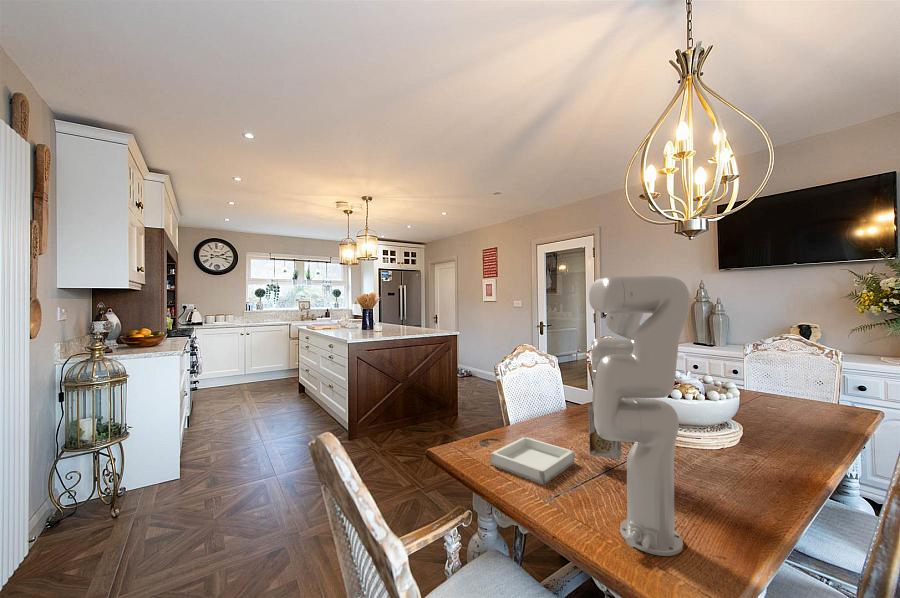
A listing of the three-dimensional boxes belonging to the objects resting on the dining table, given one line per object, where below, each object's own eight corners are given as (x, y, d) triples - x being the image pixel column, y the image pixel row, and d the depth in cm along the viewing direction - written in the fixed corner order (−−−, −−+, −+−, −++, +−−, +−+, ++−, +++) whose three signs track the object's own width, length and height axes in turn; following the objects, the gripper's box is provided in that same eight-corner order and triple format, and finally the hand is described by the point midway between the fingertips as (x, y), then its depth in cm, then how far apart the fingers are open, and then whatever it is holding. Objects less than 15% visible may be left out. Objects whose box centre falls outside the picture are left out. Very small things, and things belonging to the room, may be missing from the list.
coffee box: (622, 454, 120) (621, 404, 121) (619, 460, 115) (618, 408, 115) (592, 448, 125) (592, 400, 126) (588, 454, 120) (588, 404, 120)
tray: (543, 485, 108) (542, 471, 109) (491, 465, 122) (490, 453, 122) (574, 463, 123) (574, 451, 123) (524, 447, 137) (524, 436, 137)
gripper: (605, 380, 112) (606, 439, 111) (625, 373, 124) (626, 426, 124) (581, 377, 117) (582, 434, 117) (603, 371, 130) (604, 422, 129)
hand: (605, 429), depth 120 cm, fingers closed on coffee box, 7 cm apart
